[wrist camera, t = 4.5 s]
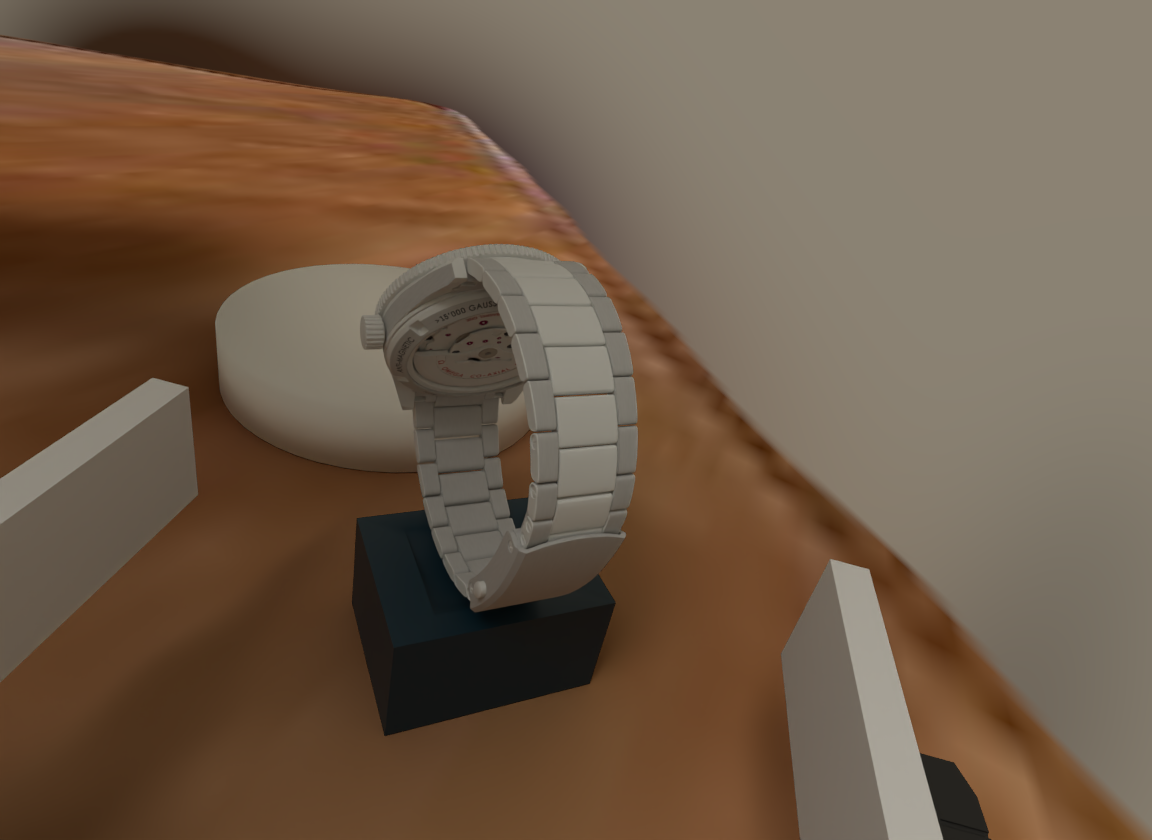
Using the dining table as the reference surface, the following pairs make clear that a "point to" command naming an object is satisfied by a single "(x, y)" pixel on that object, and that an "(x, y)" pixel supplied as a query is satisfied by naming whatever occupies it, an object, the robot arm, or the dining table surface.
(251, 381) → the display plinth
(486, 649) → the watch
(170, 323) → the dining table surface
